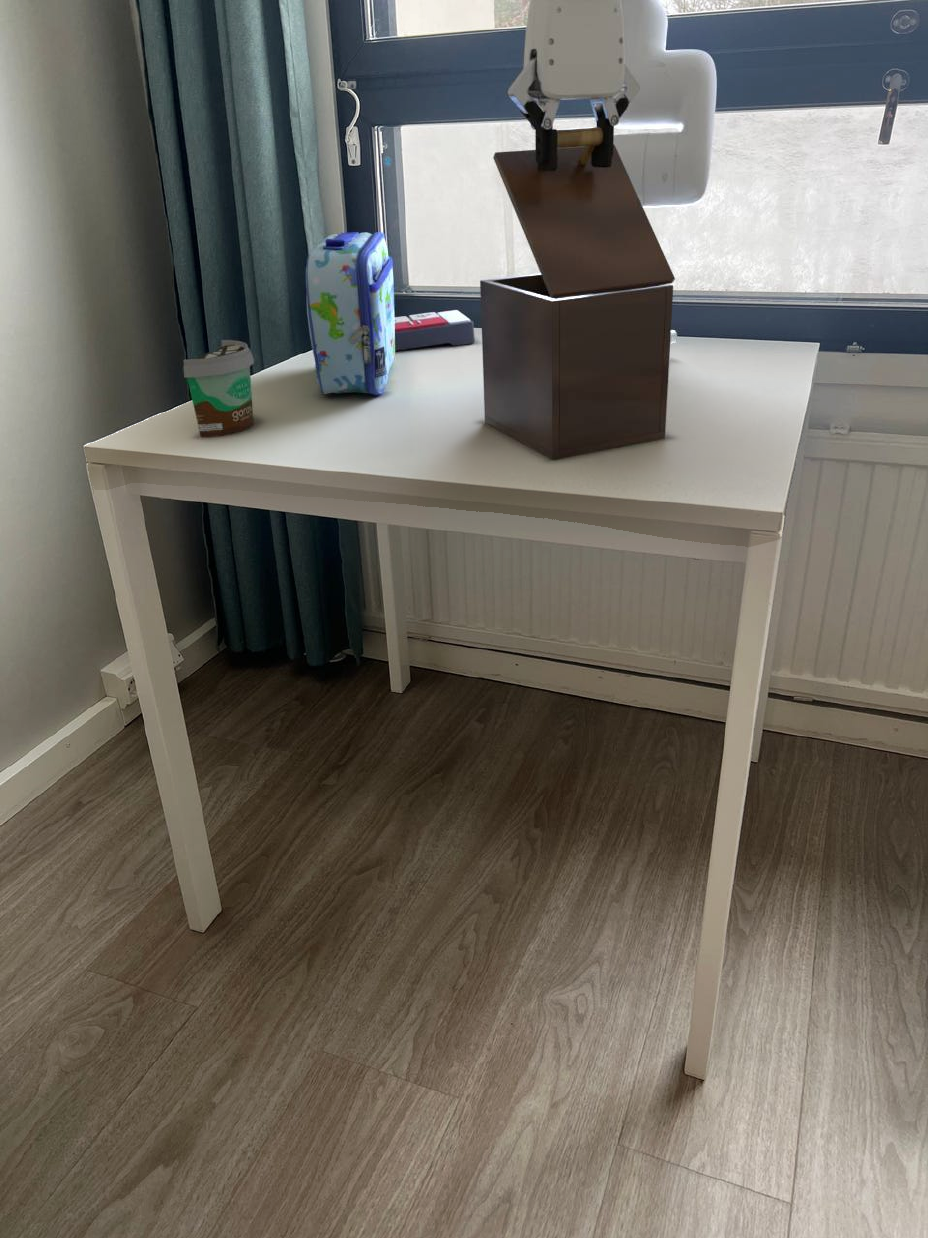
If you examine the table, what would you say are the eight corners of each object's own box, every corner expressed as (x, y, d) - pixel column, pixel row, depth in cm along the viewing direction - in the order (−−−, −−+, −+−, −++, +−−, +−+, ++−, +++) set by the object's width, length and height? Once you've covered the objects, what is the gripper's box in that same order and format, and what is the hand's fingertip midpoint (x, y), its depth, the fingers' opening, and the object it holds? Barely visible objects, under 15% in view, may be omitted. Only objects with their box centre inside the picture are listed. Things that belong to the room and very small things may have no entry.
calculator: (376, 318, 171) (458, 306, 174) (379, 342, 173) (460, 330, 176) (386, 329, 162) (473, 316, 164) (389, 355, 164) (475, 342, 166)
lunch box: (387, 402, 135) (374, 242, 125) (310, 405, 136) (292, 245, 126) (403, 359, 158) (394, 221, 148) (338, 361, 159) (324, 224, 149)
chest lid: (492, 157, 107) (507, 118, 102) (611, 149, 112) (631, 111, 107) (551, 298, 102) (569, 264, 97) (672, 283, 108) (695, 250, 103)
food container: (240, 441, 122) (228, 360, 117) (195, 440, 123) (181, 360, 118) (276, 413, 133) (266, 338, 128) (234, 413, 134) (223, 338, 129)
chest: (484, 422, 125) (479, 280, 117) (587, 404, 130) (589, 267, 122) (552, 460, 110) (552, 300, 102) (665, 438, 116) (673, 285, 107)
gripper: (628, -22, 104) (622, 163, 112) (483, -24, 98) (488, 172, 106) (669, -32, 98) (660, 164, 106) (518, -35, 92) (520, 174, 100)
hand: (574, 166), depth 106 cm, fingers closed on chest lid, 6 cm apart
